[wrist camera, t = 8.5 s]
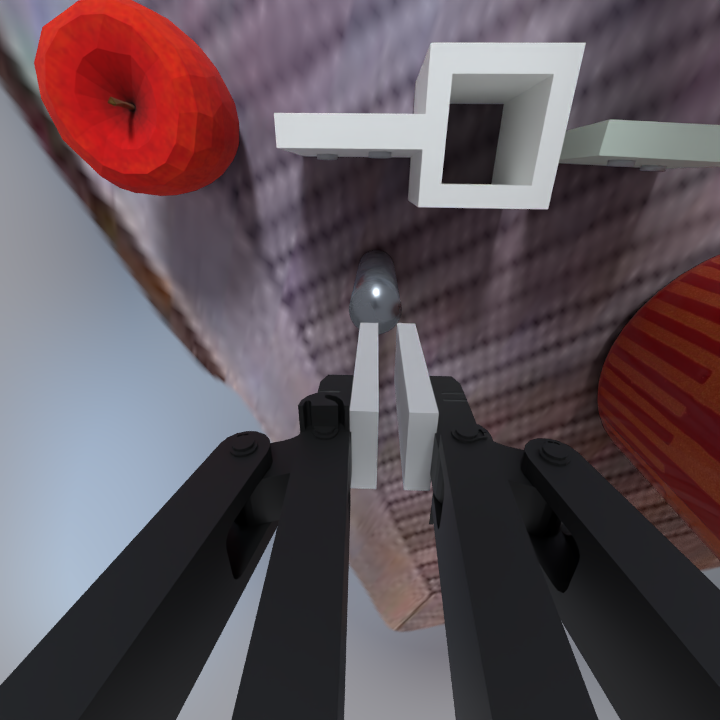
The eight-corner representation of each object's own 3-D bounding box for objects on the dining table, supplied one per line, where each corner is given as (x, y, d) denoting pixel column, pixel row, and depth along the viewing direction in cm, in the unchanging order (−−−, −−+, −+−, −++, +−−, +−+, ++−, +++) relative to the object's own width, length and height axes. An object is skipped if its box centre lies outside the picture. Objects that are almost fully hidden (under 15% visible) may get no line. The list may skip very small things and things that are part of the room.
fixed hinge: (299, 81, 25) (268, 42, 18) (525, 82, 24) (585, 42, 17) (305, 198, 28) (281, 205, 21) (504, 201, 28) (548, 209, 21)
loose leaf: (544, 136, 26) (609, 119, 18) (673, 143, 25) (789, 128, 18) (537, 166, 26) (596, 161, 19) (662, 173, 26) (768, 171, 19)
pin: (358, 249, 30) (349, 283, 20) (394, 250, 30) (403, 284, 20) (358, 285, 31) (349, 333, 21) (393, 286, 31) (399, 335, 21)
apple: (143, 174, 28) (20, 172, 18) (141, 33, 24) (-16, -64, 15) (255, 206, 29) (193, 219, 19) (271, 73, 25) (203, 5, 15)
